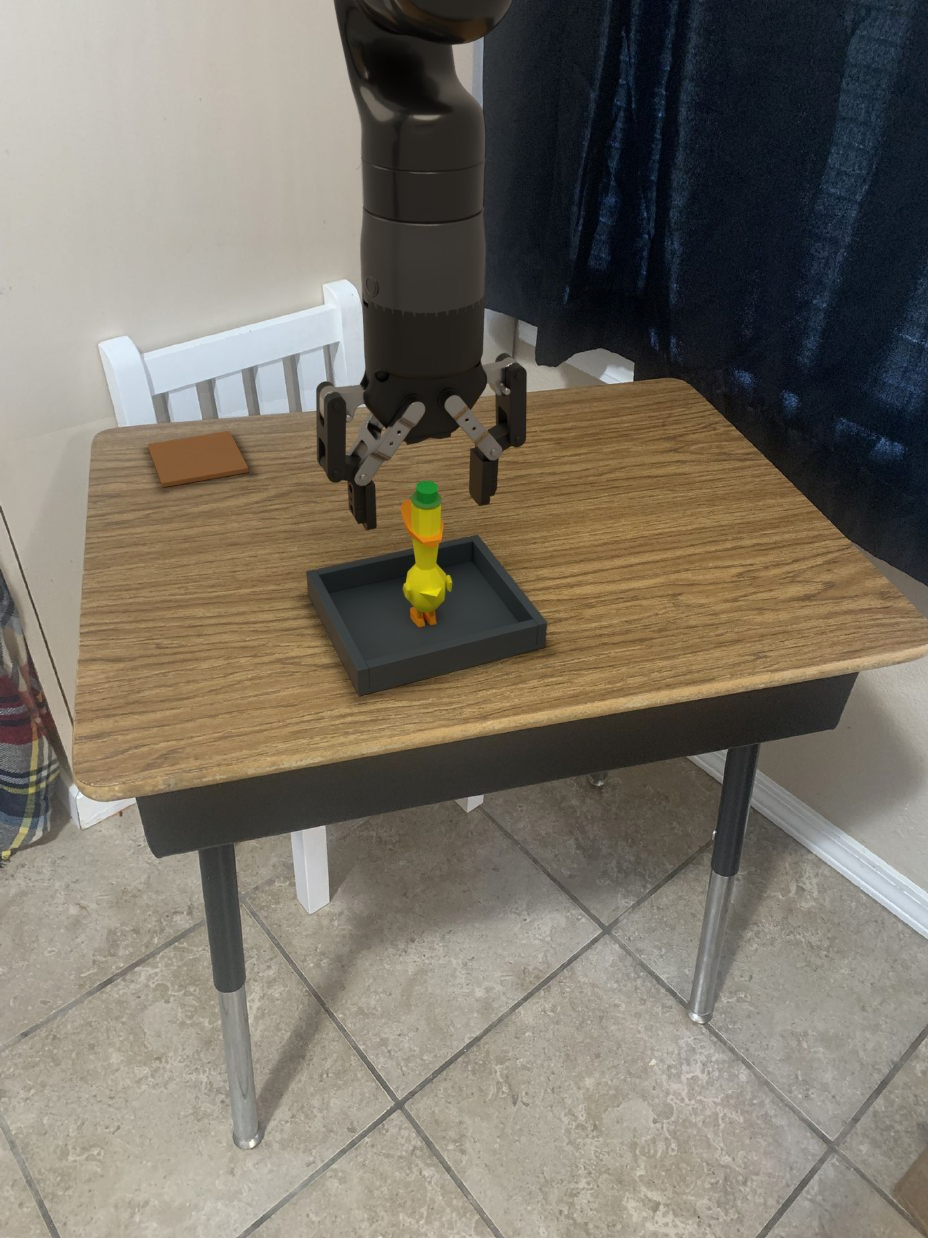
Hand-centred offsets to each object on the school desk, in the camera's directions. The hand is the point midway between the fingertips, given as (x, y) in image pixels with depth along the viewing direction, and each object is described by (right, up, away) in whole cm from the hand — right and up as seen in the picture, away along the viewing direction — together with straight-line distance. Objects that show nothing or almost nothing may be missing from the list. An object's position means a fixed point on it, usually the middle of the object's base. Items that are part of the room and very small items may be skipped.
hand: (423, 511), depth 69 cm
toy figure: (0, -8, +6) cm, 10 cm away
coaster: (-23, +8, +24) cm, 34 cm away
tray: (0, -8, +6) cm, 10 cm away
